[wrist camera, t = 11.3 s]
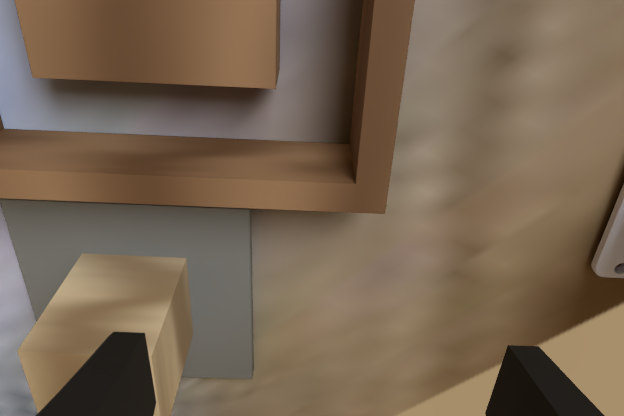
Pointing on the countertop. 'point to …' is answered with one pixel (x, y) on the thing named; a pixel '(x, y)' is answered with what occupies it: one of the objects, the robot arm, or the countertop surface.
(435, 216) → the countertop surface
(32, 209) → the mat
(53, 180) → the slot box
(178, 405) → the countertop surface
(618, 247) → the robot arm
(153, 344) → the maple block
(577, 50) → the countertop surface
